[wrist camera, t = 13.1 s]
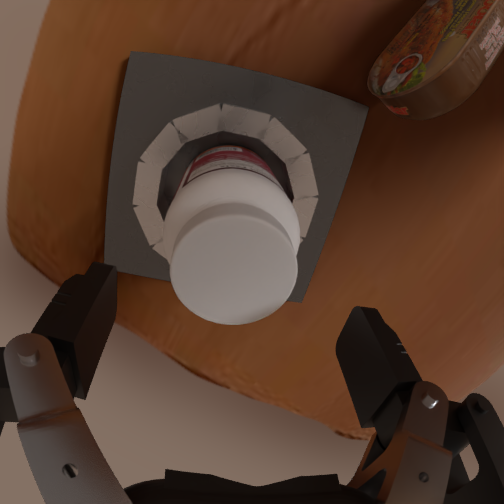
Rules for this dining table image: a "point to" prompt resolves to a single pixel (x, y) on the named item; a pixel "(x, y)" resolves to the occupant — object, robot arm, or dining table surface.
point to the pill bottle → (231, 237)
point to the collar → (217, 134)
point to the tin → (439, 57)
